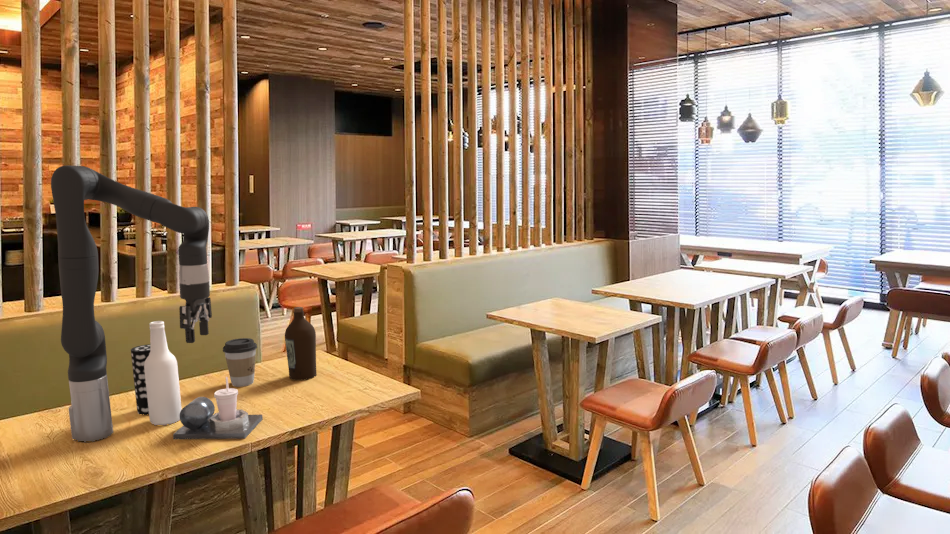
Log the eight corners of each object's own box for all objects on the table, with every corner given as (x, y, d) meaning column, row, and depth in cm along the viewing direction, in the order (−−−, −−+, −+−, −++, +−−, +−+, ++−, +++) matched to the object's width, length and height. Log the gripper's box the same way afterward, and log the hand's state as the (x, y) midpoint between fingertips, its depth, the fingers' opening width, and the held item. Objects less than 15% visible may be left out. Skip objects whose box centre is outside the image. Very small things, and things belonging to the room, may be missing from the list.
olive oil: (311, 369, 243) (307, 303, 240) (322, 376, 235) (318, 307, 231) (283, 375, 237) (278, 307, 234) (293, 383, 229) (289, 312, 225)
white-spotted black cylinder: (171, 409, 206) (165, 347, 203) (143, 417, 200) (136, 353, 197) (160, 403, 212) (154, 342, 209) (133, 410, 206) (126, 348, 203)
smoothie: (232, 429, 184) (228, 381, 182) (212, 428, 186) (207, 380, 184) (245, 420, 191) (241, 373, 189) (225, 419, 192) (221, 373, 190)
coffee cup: (253, 388, 224) (250, 345, 222) (220, 389, 224) (216, 346, 222) (264, 377, 235) (261, 336, 233) (232, 378, 235) (229, 337, 233)
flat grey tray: (173, 439, 182) (170, 409, 181) (196, 420, 196) (193, 392, 195) (244, 438, 182) (242, 408, 180) (262, 419, 195) (260, 391, 194)
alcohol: (159, 415, 201) (149, 319, 197) (187, 415, 201) (178, 318, 196) (144, 426, 192) (133, 326, 188) (173, 426, 192) (163, 325, 188)
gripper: (192, 276, 187) (195, 332, 189) (167, 284, 173) (171, 345, 175) (218, 276, 187) (221, 332, 189) (196, 285, 173) (199, 345, 175)
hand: (197, 338), depth 182 cm, fingers open, 8 cm apart
